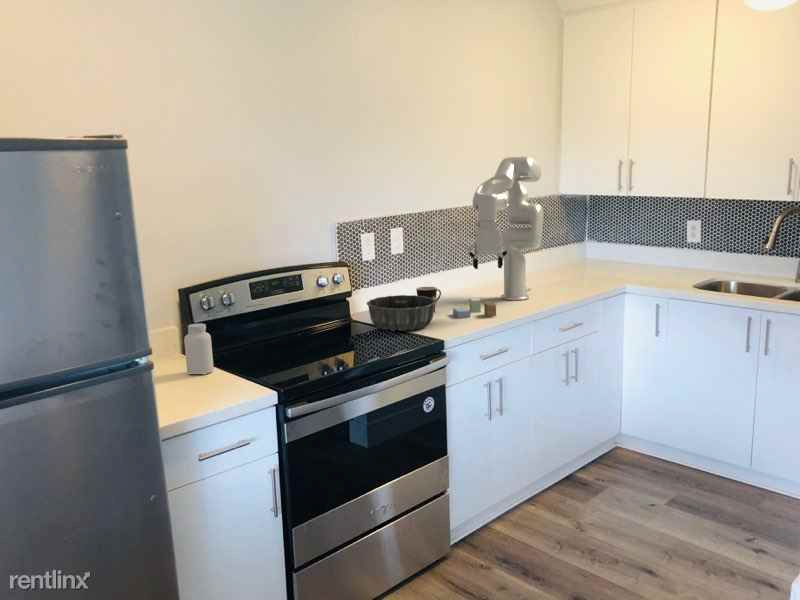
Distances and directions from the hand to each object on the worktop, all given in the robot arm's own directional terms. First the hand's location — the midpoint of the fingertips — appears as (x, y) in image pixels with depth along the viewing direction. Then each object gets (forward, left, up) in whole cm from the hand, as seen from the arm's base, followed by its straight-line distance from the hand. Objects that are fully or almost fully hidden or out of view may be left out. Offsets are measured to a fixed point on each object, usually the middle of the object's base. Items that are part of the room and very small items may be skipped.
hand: (487, 268), depth 291 cm
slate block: (+7, -8, -19) cm, 22 cm away
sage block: (-4, -10, -19) cm, 22 cm away
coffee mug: (+8, -24, -19) cm, 32 cm away
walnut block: (0, +1, -19) cm, 19 cm away
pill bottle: (+118, -20, -19) cm, 122 cm away
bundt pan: (+35, -14, -19) cm, 43 cm away
